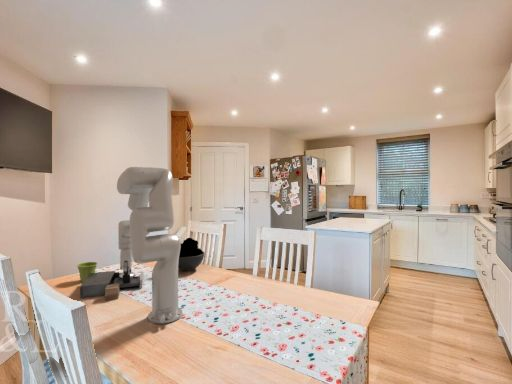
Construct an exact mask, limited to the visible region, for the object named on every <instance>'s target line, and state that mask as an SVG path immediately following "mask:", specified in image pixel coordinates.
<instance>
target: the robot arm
mask: <svg viewBox="0 0 512 384" xmlns="http://www.w3.org/2000/svg"><path fill="white" fill-rule="evenodd" d="M173 185H174V178H173V173H172V172H171V171H170V170H169V169H167V168H162V167H152V166H151V167H147V166H146V167H143V166H130V167H128V168H125V170H124V171H122V173H120V175H119V177H118V178H117V182H116V190H117V192H118V194H119V195H120V194H121V195H129V196H128V201H127V206H128V209H130V210H131V213H130V215H129V219H126V220H121V221H119V222H118V224H117V225H118V231H117V232H118V250H120V255H119V257H120V258H119V270H122V273H123V283H130V274H129V272H132V266H133V261H134V262H135V263H136V264H138V265H139V264H140V265H141V264H147V263H153V262H154V263H155V262H156V263H155V264H154V266H153V269H152V272H151V296H152V297H151V298H152V299H151V301H152V302H151V304H152V305H151V309H152V310H151V311H150V312H149V313H148V315H147V320H148V321H149V322H150V323H153V324H158V325H159V324H161V325H162V324H170V323H172V322H175V321H177V320H178V319H180V318H182V316H183V310H182V308H180V307H179V269H178V261H179V254H180V248H181V243H182V242H181V239H180V238H179V236H177V235H175V234H173V233H165V234H164V233H163V234H155V235H149V234H150V233H155V232H156V233H157V232H163V231H168V230H170V229H172V228H173V226H174V224H175V223H174V222H175V220H174V219H175V217H174V208H173V199H172V192H173V191H172V190H173ZM148 235H149V236H148Z"/></svg>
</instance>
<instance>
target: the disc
mask: <svg viewBox="0 0 512 384" xmlns="http://www.w3.org/2000/svg"><path fill="white" fill-rule="evenodd" d="M120 273H121V274H120V275H119V279H122V280H123V272H120ZM129 274H130V279H131V278H134V277H135V276H136V273H135V272H133V271H131V272H129Z"/></svg>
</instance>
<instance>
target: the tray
mask: <svg viewBox="0 0 512 384" xmlns="http://www.w3.org/2000/svg"><path fill="white" fill-rule="evenodd" d="M114 283H118V284H119V289H120V288H128V287H129V288H130V287H137V286H138V287H139V289H143V286H144V285H143V283H144V272H143V271H141V272H140V275H137V276H136V275H135V277H134V278H131V279H130V283H123V280H122V279H119V278H115V279H114V282H113V284H114Z"/></svg>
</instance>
